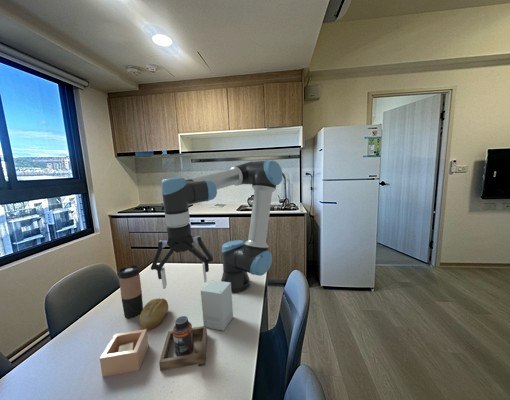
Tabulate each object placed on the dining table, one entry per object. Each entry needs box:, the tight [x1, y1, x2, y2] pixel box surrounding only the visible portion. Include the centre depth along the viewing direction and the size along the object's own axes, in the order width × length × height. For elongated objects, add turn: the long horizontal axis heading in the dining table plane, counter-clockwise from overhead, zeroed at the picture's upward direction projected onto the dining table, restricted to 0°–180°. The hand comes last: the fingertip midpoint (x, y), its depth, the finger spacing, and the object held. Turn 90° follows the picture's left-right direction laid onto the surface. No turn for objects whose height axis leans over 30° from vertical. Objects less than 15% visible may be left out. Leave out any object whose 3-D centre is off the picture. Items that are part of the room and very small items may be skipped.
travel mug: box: [117, 264, 144, 319], centre depth 96 cm, size 8×8×20 cm
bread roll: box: [139, 297, 169, 331], centre depth 91 cm, size 10×15×8 cm, turn 3°
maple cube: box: [118, 342, 134, 352], centre depth 71 cm, size 4×4×4 cm
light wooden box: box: [99, 329, 149, 378], centre depth 71 cm, size 10×10×7 cm
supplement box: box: [200, 279, 234, 331], centre depth 88 cm, size 9×9×15 cm
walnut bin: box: [158, 325, 208, 371], centre depth 74 cm, size 13×13×4 cm
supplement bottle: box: [172, 315, 194, 357], centre depth 74 cm, size 6×6×11 cm
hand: (185, 283), depth 78 cm, fingers open, 13 cm apart
